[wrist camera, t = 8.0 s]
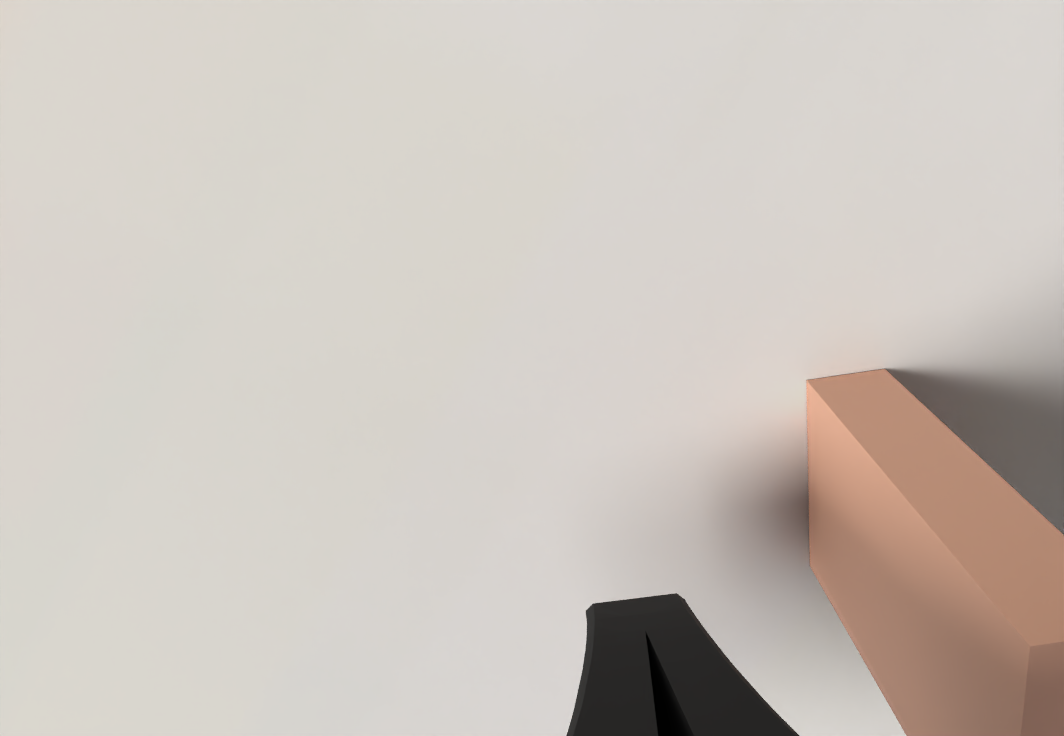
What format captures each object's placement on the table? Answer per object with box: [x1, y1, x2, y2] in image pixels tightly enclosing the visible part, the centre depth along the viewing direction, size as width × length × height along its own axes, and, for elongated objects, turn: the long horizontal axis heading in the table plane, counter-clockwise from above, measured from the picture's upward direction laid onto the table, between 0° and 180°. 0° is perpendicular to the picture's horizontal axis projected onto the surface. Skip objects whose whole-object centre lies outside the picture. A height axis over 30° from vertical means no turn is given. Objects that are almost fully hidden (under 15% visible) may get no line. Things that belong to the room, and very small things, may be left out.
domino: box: [807, 369, 1064, 736], centre depth 13 cm, size 4×1×7 cm, turn 8°
